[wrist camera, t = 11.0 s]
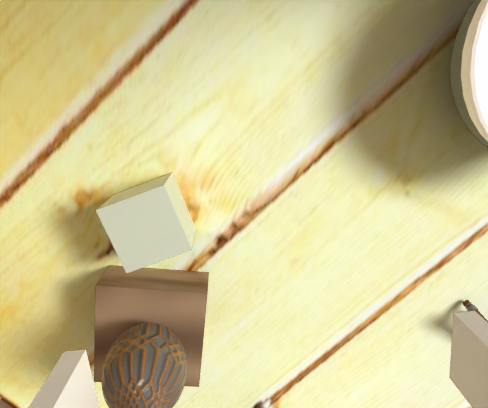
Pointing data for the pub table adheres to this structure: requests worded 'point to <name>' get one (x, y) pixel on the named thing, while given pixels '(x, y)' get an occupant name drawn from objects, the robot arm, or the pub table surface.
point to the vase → (144, 368)
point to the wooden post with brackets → (472, 307)
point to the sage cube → (148, 223)
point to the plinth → (151, 310)
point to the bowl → (472, 70)
